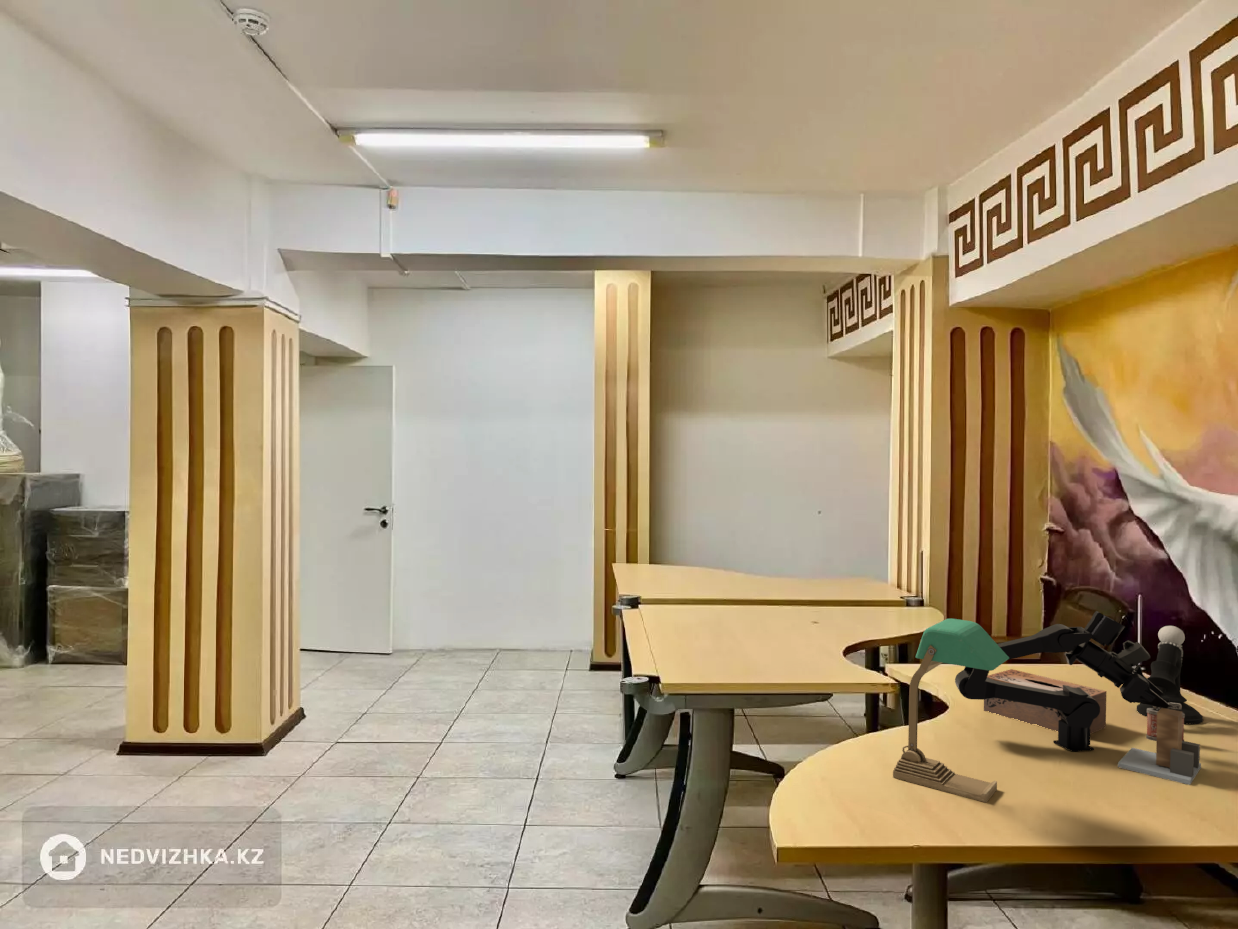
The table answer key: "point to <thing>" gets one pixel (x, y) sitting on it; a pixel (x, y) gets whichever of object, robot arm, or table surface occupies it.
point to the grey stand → (1180, 770)
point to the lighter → (1153, 720)
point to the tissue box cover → (1039, 713)
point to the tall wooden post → (1168, 735)
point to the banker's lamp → (937, 646)
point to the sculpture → (1170, 673)
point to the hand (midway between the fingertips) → (1164, 700)
